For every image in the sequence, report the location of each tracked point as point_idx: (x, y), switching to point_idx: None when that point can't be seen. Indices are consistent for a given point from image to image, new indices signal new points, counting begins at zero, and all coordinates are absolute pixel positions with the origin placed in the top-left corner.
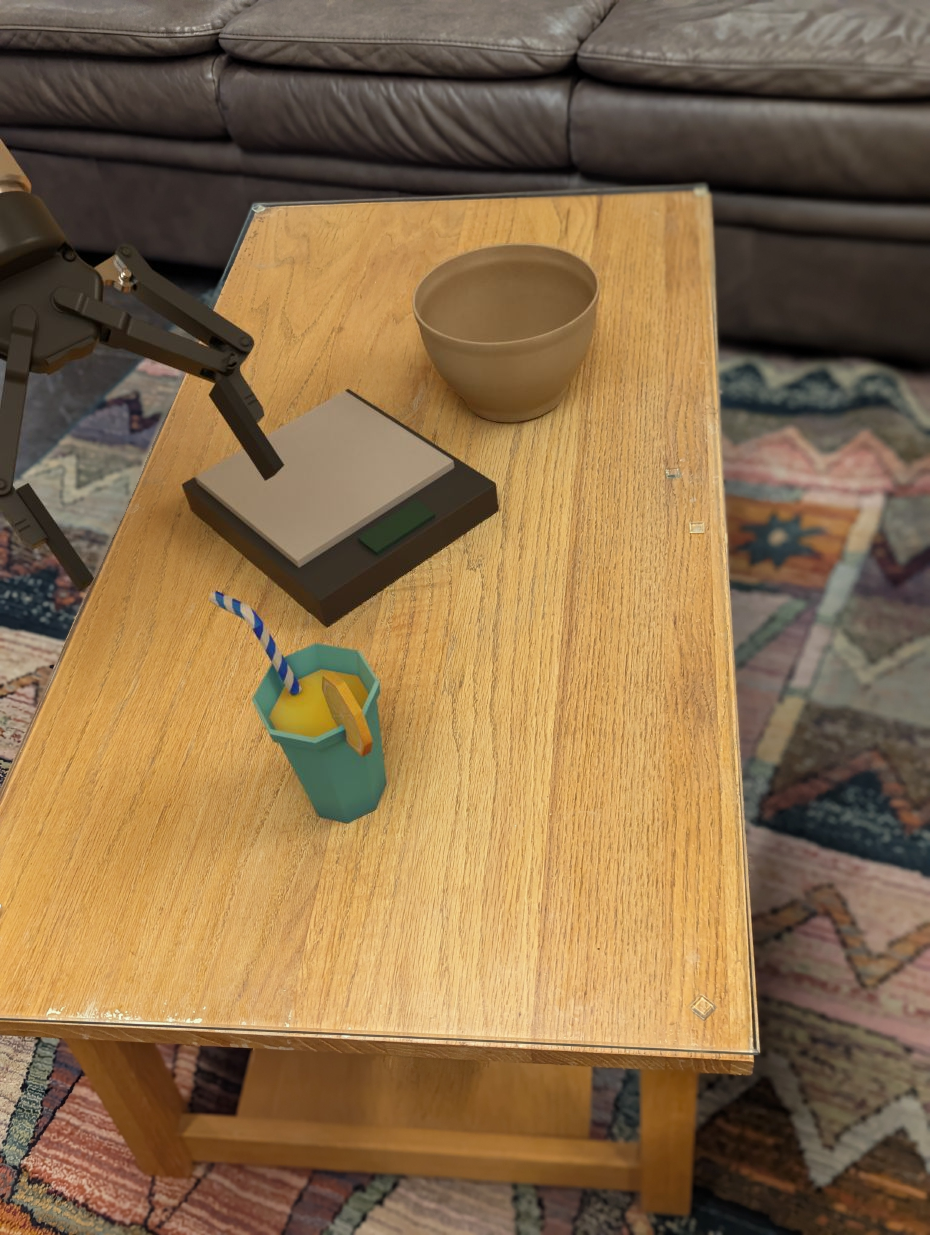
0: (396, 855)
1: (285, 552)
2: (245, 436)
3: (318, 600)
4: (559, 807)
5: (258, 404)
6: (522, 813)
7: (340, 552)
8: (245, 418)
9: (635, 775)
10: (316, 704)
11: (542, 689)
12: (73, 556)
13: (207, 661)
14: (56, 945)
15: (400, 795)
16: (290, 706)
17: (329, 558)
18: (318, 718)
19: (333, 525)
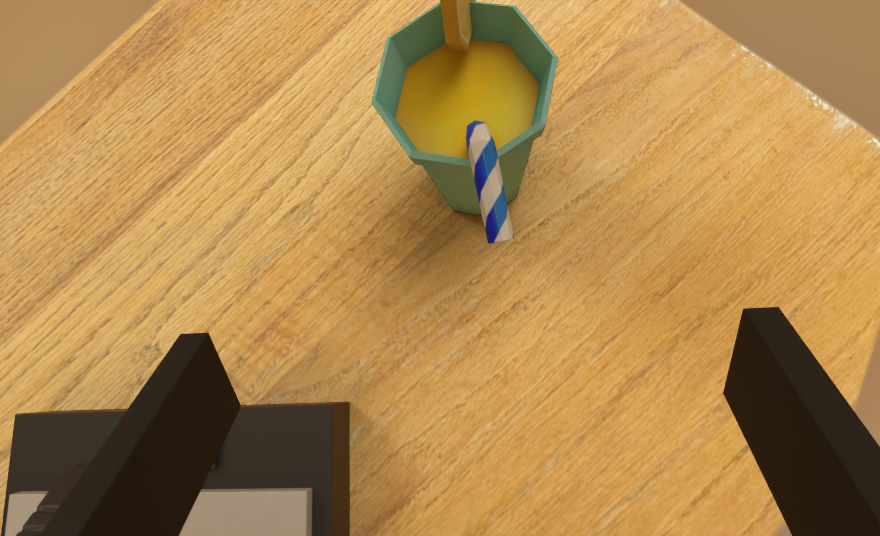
0: None
1: (307, 525)
2: (171, 456)
3: (332, 406)
4: (332, 25)
5: (52, 494)
6: (362, 40)
7: (250, 467)
8: (118, 454)
9: (257, 10)
10: (467, 112)
11: (240, 144)
12: (789, 356)
13: (503, 474)
14: (851, 213)
15: None
16: (496, 132)
17: (269, 469)
18: (478, 90)
19: (220, 516)
